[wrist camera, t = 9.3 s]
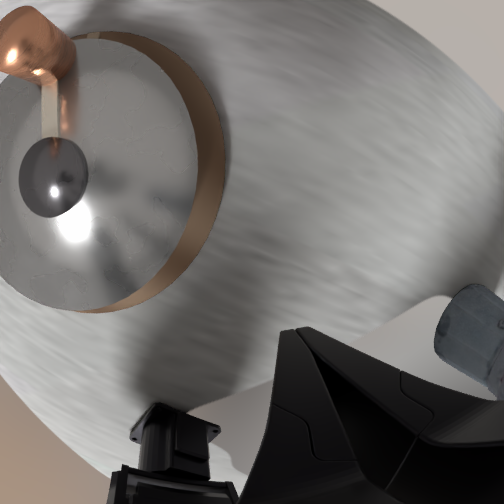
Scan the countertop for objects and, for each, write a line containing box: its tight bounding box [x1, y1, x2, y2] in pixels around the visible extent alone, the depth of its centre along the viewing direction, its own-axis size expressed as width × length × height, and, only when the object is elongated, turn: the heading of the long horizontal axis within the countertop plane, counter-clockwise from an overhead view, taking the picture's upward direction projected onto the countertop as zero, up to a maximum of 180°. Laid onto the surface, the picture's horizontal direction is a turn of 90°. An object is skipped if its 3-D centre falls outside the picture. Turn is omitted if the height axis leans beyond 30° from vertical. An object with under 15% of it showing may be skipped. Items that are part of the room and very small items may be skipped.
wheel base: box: [70, 31, 225, 313], centre depth 15 cm, size 18×18×1 cm
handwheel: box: [0, 6, 198, 311], centre depth 11 cm, size 16×15×7 cm
